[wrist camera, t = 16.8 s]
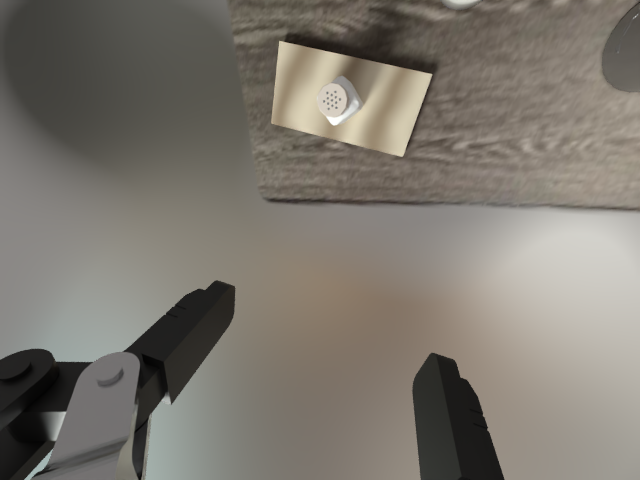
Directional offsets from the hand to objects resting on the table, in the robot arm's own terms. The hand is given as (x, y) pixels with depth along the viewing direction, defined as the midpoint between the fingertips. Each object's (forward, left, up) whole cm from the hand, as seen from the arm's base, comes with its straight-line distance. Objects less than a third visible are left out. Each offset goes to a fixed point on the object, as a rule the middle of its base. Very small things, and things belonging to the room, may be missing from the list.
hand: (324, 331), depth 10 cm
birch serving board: (+6, -8, -33) cm, 35 cm away
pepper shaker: (+6, -8, -32) cm, 33 cm away
